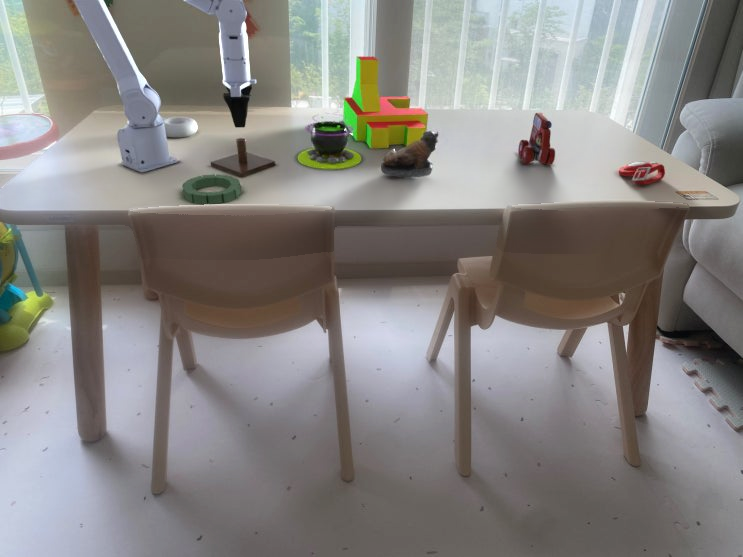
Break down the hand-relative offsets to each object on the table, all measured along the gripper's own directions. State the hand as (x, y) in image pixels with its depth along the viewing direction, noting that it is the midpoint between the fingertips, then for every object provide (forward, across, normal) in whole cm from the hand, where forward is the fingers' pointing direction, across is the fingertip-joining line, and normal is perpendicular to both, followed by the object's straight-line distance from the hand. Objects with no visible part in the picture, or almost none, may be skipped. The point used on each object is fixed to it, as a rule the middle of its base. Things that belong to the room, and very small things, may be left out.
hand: (241, 122), depth 119 cm
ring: (+8, -20, +5) cm, 22 cm away
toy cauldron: (+9, 0, -20) cm, 22 cm away
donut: (+9, +20, +18) cm, 28 cm away
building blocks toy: (+9, +19, -37) cm, 42 cm away
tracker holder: (+9, -17, -89) cm, 91 cm away
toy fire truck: (+9, -4, -70) cm, 71 cm away
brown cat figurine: (+9, -12, -36) cm, 39 cm away
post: (+8, -5, 0) cm, 10 cm away
